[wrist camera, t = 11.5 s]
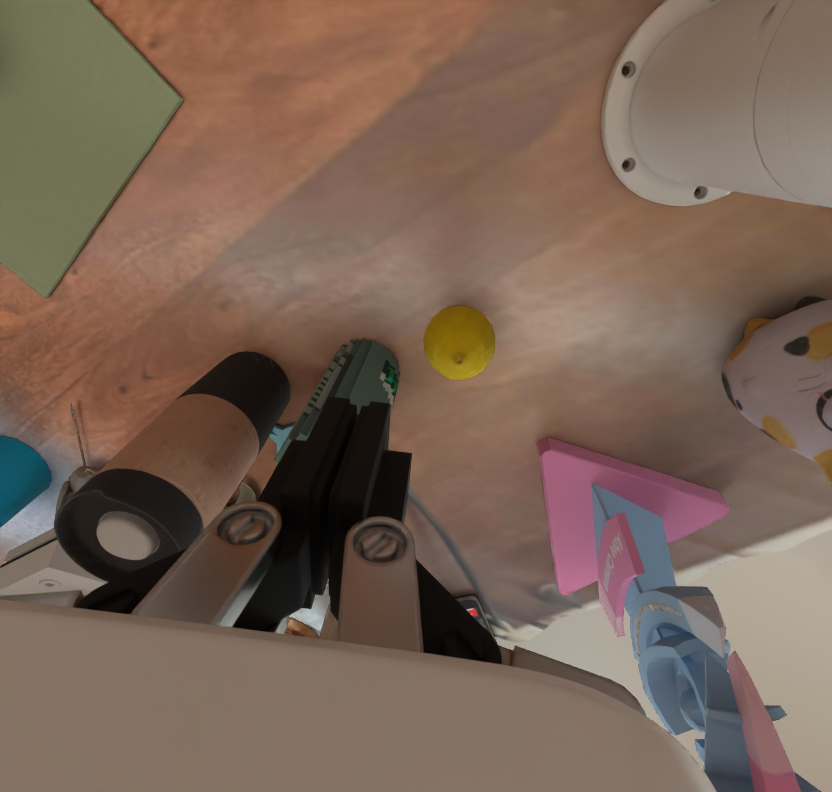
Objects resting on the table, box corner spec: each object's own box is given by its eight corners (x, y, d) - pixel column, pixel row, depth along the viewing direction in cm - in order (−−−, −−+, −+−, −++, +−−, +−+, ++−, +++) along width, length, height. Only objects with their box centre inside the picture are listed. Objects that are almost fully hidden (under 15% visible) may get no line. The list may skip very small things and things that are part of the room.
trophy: (536, 437, 44) (651, 872, 18) (725, 410, 41) (1201, 883, 15) (555, 579, 53) (650, 1005, 27) (711, 565, 50) (990, 1029, 24)
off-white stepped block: (-32, 626, 43) (40, 592, 40) (16, 536, 49) (80, 502, 47) (141, 664, 55) (204, 640, 53) (161, 588, 62) (218, 563, 59)
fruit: (428, 355, 41) (422, 399, 34) (424, 294, 38) (417, 328, 31) (491, 353, 40) (499, 397, 33) (492, 291, 37) (499, 325, 30)
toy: (81, 502, 53) (74, 398, 46) (111, 512, 54) (109, 410, 46) (44, 535, 49) (31, 426, 41) (78, 546, 49) (70, 438, 42)
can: (375, 411, 44) (340, 524, 31) (320, 376, 43) (260, 479, 29) (411, 365, 41) (390, 467, 28) (354, 326, 40) (303, 415, 27)
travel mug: (277, 431, 46) (167, 608, 29) (204, 396, 45) (42, 559, 27) (305, 373, 43) (200, 533, 25) (228, 333, 41) (59, 473, 24)
